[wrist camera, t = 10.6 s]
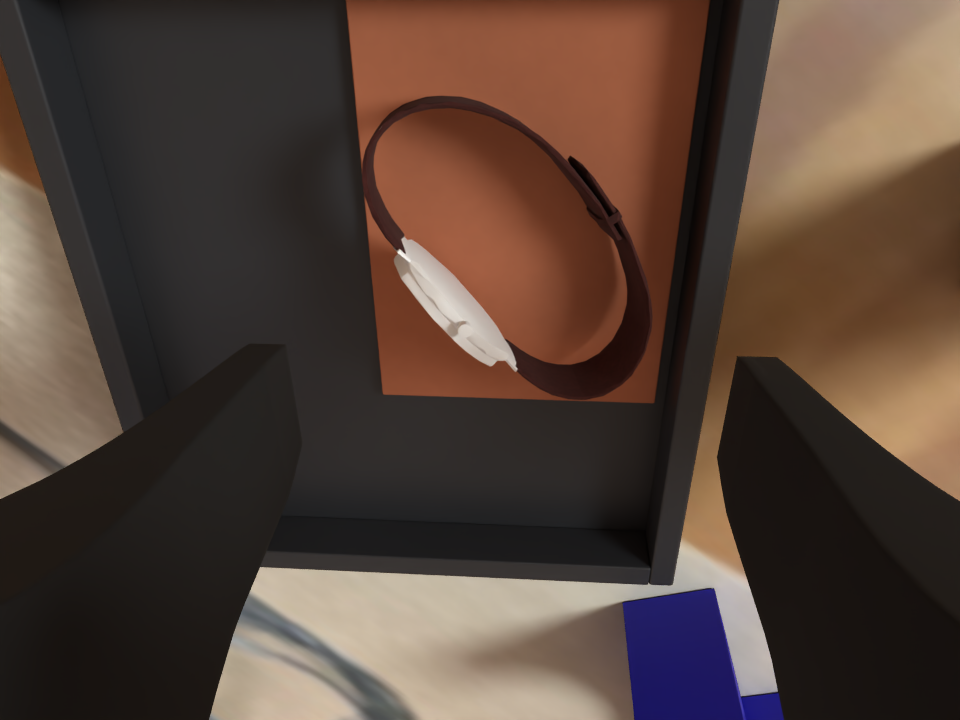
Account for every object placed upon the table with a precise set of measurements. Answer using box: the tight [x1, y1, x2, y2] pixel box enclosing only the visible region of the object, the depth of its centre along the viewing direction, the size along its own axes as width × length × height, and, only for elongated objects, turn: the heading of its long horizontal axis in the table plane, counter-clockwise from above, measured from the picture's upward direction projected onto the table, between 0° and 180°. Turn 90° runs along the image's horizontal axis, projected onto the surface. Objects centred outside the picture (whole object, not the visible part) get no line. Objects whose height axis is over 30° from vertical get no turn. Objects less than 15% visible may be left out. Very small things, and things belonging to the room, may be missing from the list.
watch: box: [362, 96, 653, 400], centre depth 17 cm, size 8×5×4 cm, turn 41°
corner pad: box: [346, 0, 710, 403], centre depth 18 cm, size 7×10×1 cm
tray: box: [0, 0, 779, 585], centre depth 20 cm, size 15×16×2 cm
